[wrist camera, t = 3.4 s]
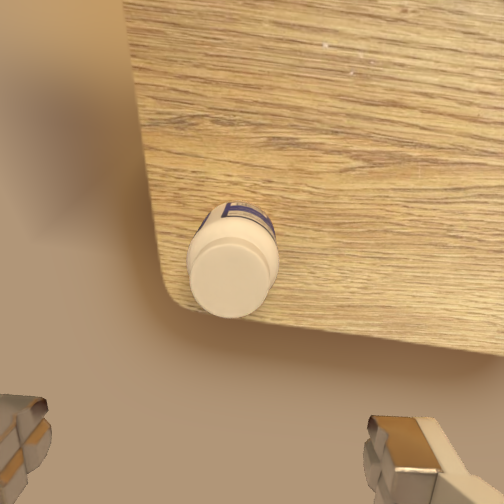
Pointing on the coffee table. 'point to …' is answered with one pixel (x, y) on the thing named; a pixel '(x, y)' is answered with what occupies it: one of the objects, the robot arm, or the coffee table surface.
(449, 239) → the coffee table surface
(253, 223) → the pill bottle
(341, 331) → the coffee table surface
